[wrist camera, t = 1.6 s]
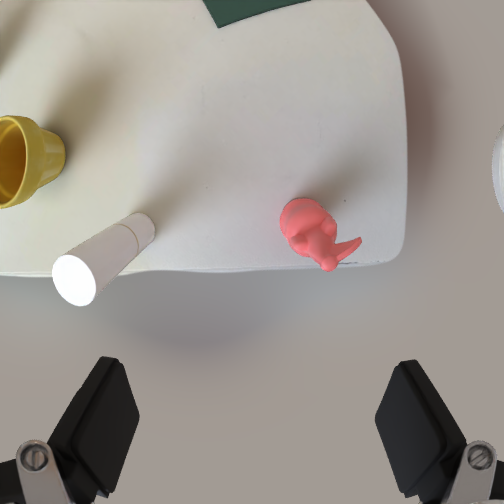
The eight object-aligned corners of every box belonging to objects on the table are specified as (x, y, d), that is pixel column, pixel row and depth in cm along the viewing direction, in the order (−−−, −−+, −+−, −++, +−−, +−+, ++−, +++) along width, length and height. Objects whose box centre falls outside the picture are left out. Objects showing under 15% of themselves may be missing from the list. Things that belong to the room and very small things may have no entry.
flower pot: (41, 107, 28) (-7, 102, 19) (89, 137, 30) (41, 137, 21) (15, 173, 31) (-32, 183, 21) (58, 208, 33) (11, 227, 23)
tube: (148, 208, 33) (82, 248, 19) (159, 242, 34) (104, 301, 20) (118, 218, 33) (45, 261, 19) (129, 250, 34) (66, 309, 20)
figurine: (308, 184, 32) (351, 208, 18) (329, 223, 33) (379, 273, 19) (268, 206, 33) (280, 247, 19) (290, 244, 34) (315, 309, 20)
